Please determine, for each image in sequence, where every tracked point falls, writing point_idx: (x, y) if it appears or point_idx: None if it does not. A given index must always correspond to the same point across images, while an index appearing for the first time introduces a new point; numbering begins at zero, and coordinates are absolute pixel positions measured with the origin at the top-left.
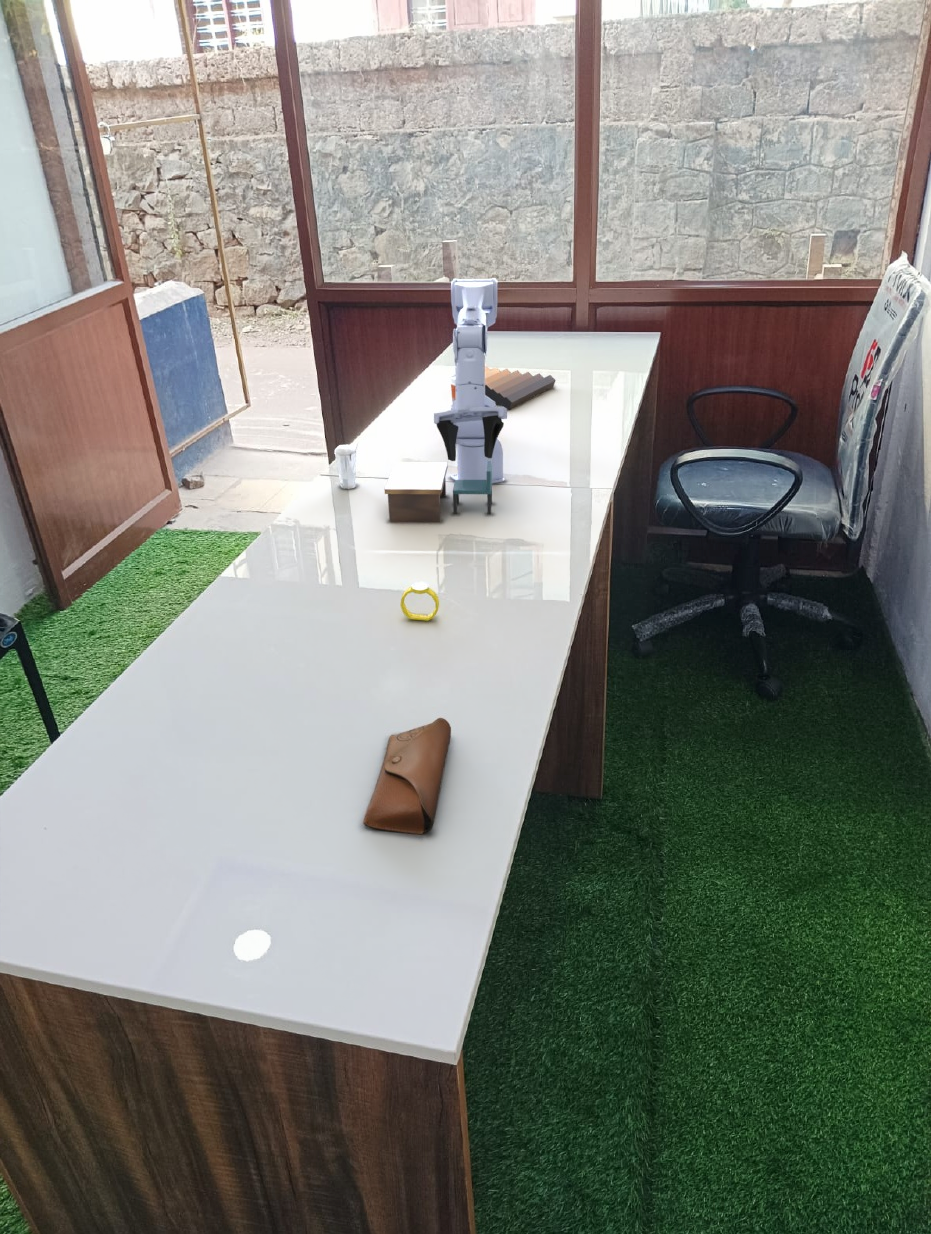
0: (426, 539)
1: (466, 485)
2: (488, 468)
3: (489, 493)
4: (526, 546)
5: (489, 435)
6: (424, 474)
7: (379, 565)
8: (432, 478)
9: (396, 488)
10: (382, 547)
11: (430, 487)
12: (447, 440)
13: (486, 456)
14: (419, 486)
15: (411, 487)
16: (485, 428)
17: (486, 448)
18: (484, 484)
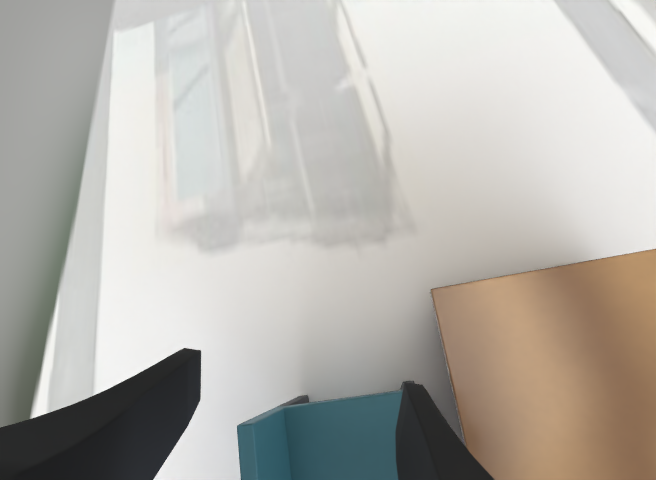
0: (439, 193)
1: (372, 458)
2: (249, 466)
3: (278, 407)
4: (190, 215)
5: (89, 398)
6: (581, 471)
7: (505, 32)
8: (516, 417)
9: (639, 261)
10: (544, 118)
11: (484, 302)
12: (441, 453)
13: (192, 351)
14: (539, 305)
15: (571, 286)
16: (75, 431)
17: (165, 362)
18: (303, 477)
